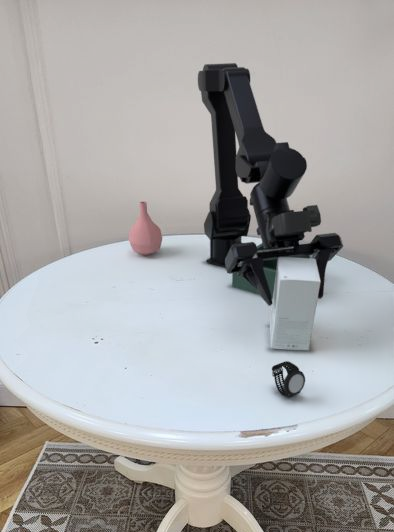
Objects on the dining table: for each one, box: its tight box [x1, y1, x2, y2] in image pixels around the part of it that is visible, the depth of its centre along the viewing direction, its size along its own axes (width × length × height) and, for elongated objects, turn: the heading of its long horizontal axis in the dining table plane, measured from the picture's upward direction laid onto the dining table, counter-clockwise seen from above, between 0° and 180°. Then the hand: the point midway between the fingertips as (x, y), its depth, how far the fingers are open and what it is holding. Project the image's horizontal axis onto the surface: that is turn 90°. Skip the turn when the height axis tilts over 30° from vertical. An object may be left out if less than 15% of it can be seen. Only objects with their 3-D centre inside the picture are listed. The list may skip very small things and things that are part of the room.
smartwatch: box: [271, 360, 306, 399], centre depth 77 cm, size 4×5×5 cm
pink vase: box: [128, 201, 163, 256], centre depth 121 cm, size 8×8×12 cm
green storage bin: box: [231, 242, 307, 299], centre depth 108 cm, size 14×13×6 cm
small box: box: [269, 257, 321, 351], centre depth 87 cm, size 8×6×13 cm
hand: (295, 301), depth 85 cm, fingers closed on small box, 8 cm apart
